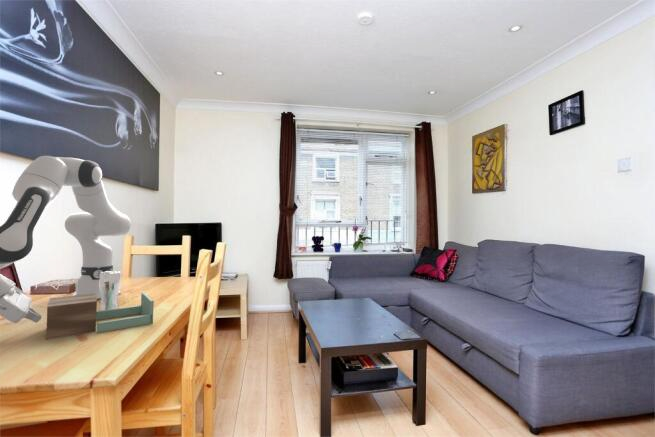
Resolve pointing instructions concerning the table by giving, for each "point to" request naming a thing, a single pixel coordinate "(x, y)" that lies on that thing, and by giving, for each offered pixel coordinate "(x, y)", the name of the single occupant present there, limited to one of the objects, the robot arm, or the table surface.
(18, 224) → the robot arm
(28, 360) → the table surface
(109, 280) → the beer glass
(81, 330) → the walnut block
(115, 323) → the green bay
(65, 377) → the table surface
